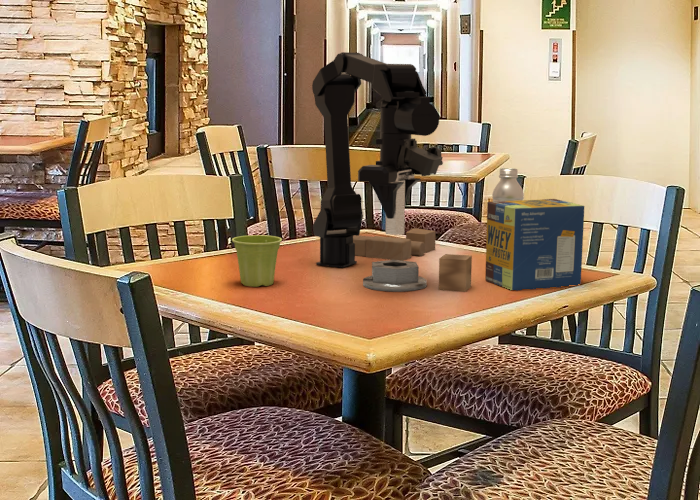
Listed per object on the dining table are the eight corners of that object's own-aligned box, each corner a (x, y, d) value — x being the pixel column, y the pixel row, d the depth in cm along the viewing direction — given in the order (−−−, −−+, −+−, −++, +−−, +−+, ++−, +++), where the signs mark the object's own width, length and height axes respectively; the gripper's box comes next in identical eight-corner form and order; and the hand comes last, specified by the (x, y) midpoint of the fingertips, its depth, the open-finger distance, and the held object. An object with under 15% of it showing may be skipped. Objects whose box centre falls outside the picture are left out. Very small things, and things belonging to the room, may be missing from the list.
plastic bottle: (486, 260, 214) (489, 167, 211) (517, 260, 215) (520, 167, 212) (493, 265, 208) (496, 170, 205) (525, 265, 209) (528, 170, 205)
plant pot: (290, 281, 191) (289, 236, 190) (270, 290, 182) (269, 243, 181) (245, 277, 194) (245, 234, 193) (224, 287, 185) (223, 241, 184)
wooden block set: (406, 237, 212) (333, 231, 221) (405, 263, 213) (333, 256, 222) (440, 227, 226) (370, 221, 235) (439, 252, 227) (370, 245, 236)
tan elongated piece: (381, 233, 185) (381, 180, 184) (389, 231, 188) (390, 178, 187) (400, 235, 183) (400, 181, 182) (408, 233, 186) (409, 179, 185)
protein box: (483, 281, 192) (486, 201, 190) (552, 276, 198) (555, 198, 195) (511, 291, 183) (513, 207, 180) (582, 285, 188) (586, 204, 186)
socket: (364, 291, 182) (364, 270, 181) (361, 278, 193) (362, 258, 193) (429, 291, 182) (430, 270, 181) (423, 278, 194) (423, 258, 193)
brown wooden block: (438, 290, 183) (439, 258, 182) (445, 285, 188) (445, 254, 187) (465, 292, 182) (466, 259, 181) (471, 287, 187) (471, 255, 186)
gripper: (413, 136, 171) (412, 226, 174) (456, 132, 187) (454, 214, 190) (356, 134, 176) (356, 222, 179) (403, 130, 192) (401, 210, 195)
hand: (394, 217), depth 185 cm, fingers closed on tan elongated piece, 3 cm apart
